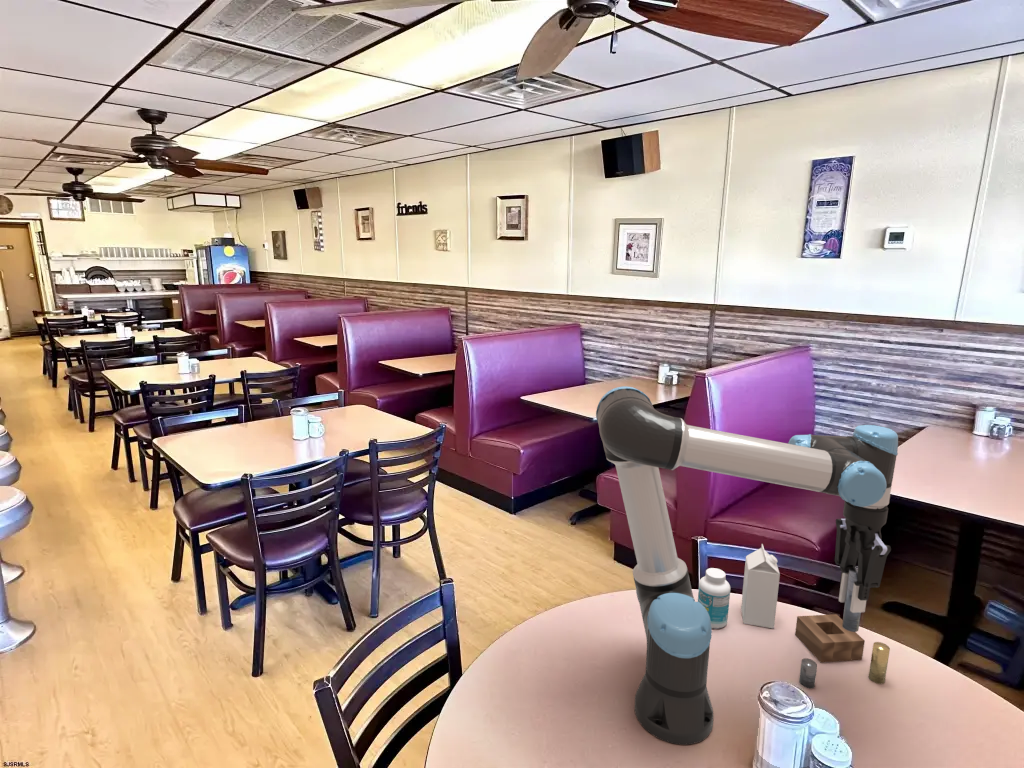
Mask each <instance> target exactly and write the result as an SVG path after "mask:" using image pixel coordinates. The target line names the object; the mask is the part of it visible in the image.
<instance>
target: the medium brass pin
mask: <svg viewBox="0 0 1024 768" xmlns="http://www.w3.org/2000/svg"><path fill="white" fill-rule="evenodd" d="M890 651H891V649H890V647H889V645H887V644H886V643H883V642H879V641H875V642H873V645H872V651H871V656H870V657H871V658H870V664H869V665H870V666H869V670H868V678H869V680H870V681H871V682H873V683H875V684H879V685H884V683H886V676H887V671H888V663H889V658H890Z"/></svg>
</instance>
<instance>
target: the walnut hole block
mask: <svg viewBox="0 0 1024 768" xmlns="http://www.w3.org/2000/svg"><path fill="white" fill-rule="evenodd" d="M842 622H843V618H841V617H840V616H839V615H838V614H837V613H833V614H820V615H819V614H818V615H817V614H816V615H815V614H813V615H802V616H801V615H797V616H796V622H795V623H796V624H795V632H794V633H795V634H794V635H795V636H796V637H797V638H798V639H799V640H800V641H801V643H802V644H803V645H804V646H805V647H806V648H807V650H808V651H810V653H811V655H813V656H814V657H815V658H816V659H817V660H818V662H820V663H833V662H835V663H836V662H850V661H851V662H852V661H862V660H863V656H864V648H865V639H864V638H862V637H861V636H860V635H859V633H857V632H851V631H848V630H846V629H844V628H843V626H842Z"/></svg>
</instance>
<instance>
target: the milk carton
mask: <svg viewBox="0 0 1024 768" xmlns="http://www.w3.org/2000/svg"><path fill="white" fill-rule="evenodd" d="M760 546H761V547H760V548H758V549H756V550H754V551H753V552H751V553H749V554H747V555H745V565H744V574H743V583H742V584H743V585H742V595H741V596H742V597H741V605H740V610H741V617H742V622H743V624H744V625H751V626H756V627H762V628H768V629H775V623H776V613H777V606H778V605H777V604H778V595H779V594H778V593H779V588H780V587H779V585H780V578H781V577H780V576H781V574H780V570H779V567H778V564H777V563H779V562H778V558H777V557H775V555H773V554H769V552H767V551H766V550H765V548H764V544H763V543H761V545H760Z"/></svg>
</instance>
